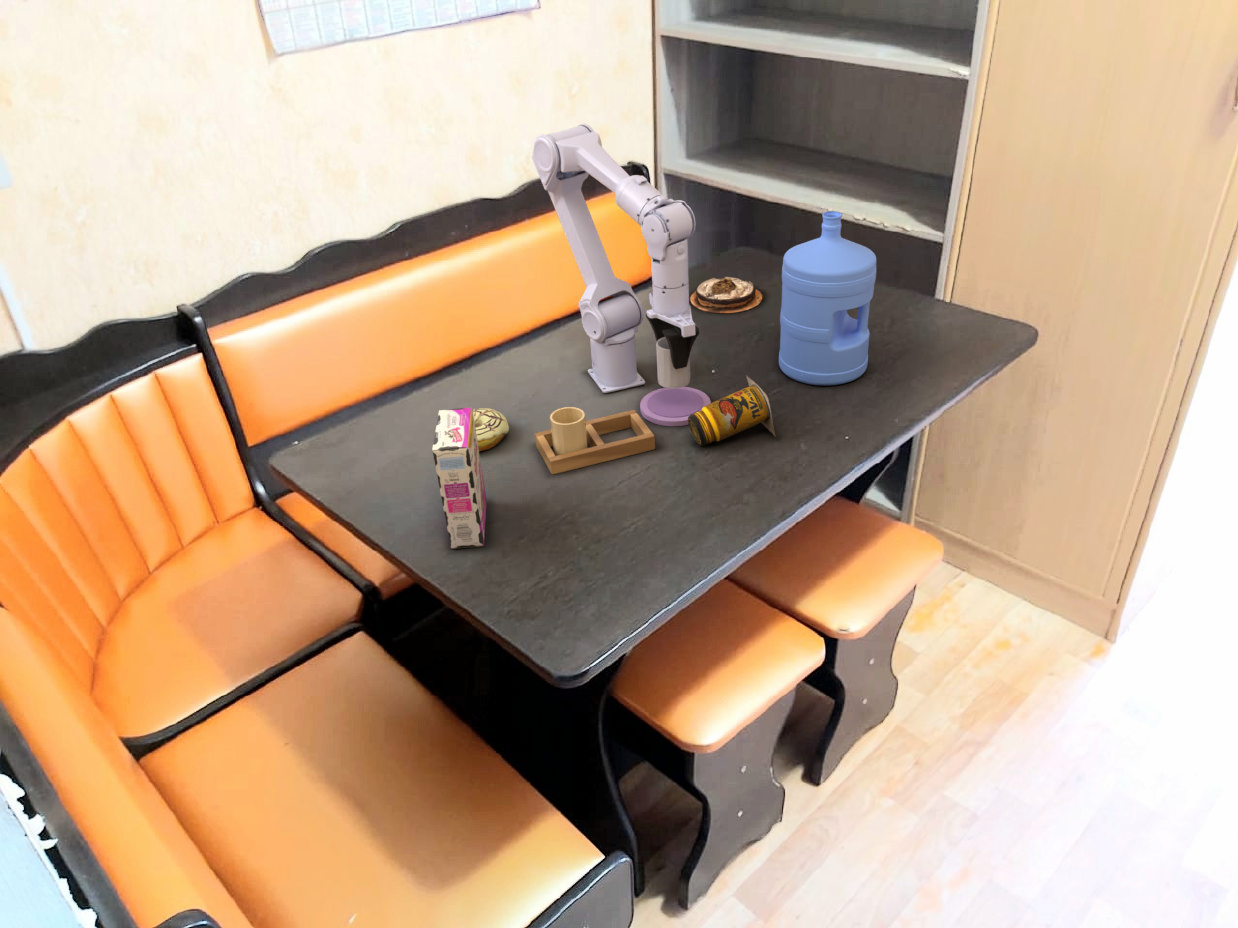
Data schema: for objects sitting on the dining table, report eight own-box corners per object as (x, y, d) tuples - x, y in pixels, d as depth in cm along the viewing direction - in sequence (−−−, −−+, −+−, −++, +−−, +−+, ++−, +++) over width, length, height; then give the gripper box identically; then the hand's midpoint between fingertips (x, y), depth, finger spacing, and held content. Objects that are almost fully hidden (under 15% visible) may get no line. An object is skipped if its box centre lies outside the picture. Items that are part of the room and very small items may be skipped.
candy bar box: (486, 547, 128) (468, 447, 119) (450, 550, 128) (429, 451, 119) (489, 500, 137) (472, 405, 128) (455, 504, 137) (436, 408, 128)
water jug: (769, 381, 162) (773, 227, 147) (789, 343, 174) (795, 197, 159) (858, 393, 157) (873, 233, 142) (873, 353, 169) (888, 202, 154)
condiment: (767, 394, 142) (697, 424, 140) (776, 437, 147) (709, 467, 145) (747, 374, 148) (680, 403, 146) (756, 416, 153) (691, 445, 151)
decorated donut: (522, 435, 152) (519, 416, 150) (472, 464, 146) (468, 444, 144) (481, 416, 159) (478, 397, 156) (431, 443, 152) (427, 423, 150)
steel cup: (653, 377, 155) (651, 339, 151) (682, 370, 156) (681, 333, 153) (665, 391, 151) (663, 352, 147) (695, 384, 152) (694, 346, 148)
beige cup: (550, 449, 148) (545, 411, 144) (582, 441, 150) (578, 404, 146) (560, 465, 144) (555, 427, 140) (592, 457, 145) (589, 419, 141)
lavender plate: (630, 400, 160) (629, 394, 159) (693, 385, 163) (693, 379, 162) (655, 432, 150) (655, 426, 150) (722, 416, 153) (722, 410, 153)
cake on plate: (735, 318, 185) (736, 299, 183) (676, 303, 194) (675, 284, 191) (775, 293, 194) (775, 275, 192) (716, 280, 203) (716, 262, 200)
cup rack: (536, 446, 149) (534, 433, 148) (635, 422, 154) (634, 409, 152) (551, 475, 142) (550, 461, 141) (655, 449, 146) (654, 435, 145)
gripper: (630, 271, 149) (635, 347, 156) (664, 303, 137) (667, 383, 145) (670, 263, 151) (673, 338, 158) (707, 294, 139) (708, 374, 146)
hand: (673, 359), depth 152 cm, fingers closed on steel cup, 5 cm apart
